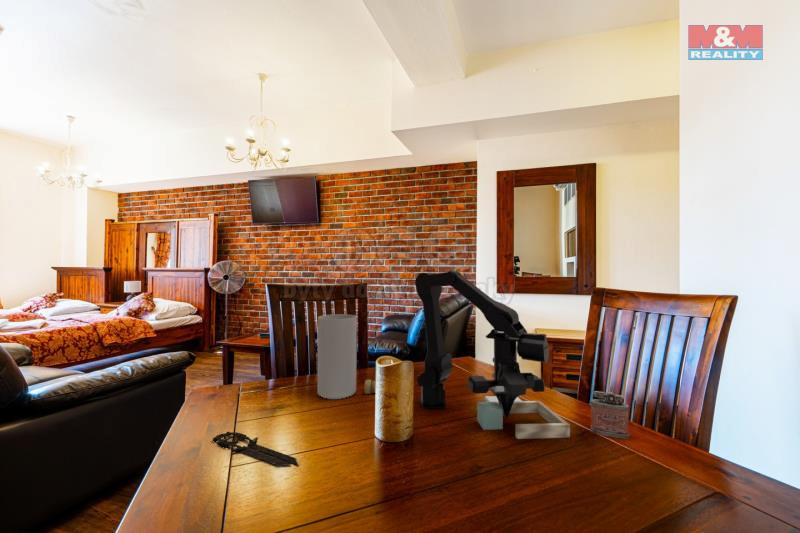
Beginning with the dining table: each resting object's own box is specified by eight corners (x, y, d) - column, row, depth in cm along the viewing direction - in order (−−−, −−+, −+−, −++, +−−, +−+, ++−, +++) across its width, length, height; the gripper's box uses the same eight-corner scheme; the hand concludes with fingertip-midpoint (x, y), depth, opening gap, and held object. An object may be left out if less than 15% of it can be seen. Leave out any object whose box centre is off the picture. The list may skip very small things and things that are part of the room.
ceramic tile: (494, 410, 94) (494, 406, 94) (485, 400, 102) (485, 396, 102) (528, 410, 95) (528, 406, 95) (516, 399, 103) (516, 395, 103)
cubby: (517, 438, 78) (517, 426, 78) (495, 412, 93) (495, 401, 93) (570, 437, 79) (569, 424, 79) (539, 411, 94) (539, 400, 94)
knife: (304, 465, 68) (304, 458, 68) (277, 481, 63) (277, 474, 63) (235, 432, 82) (235, 427, 82) (208, 443, 76) (208, 437, 76)
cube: (483, 429, 83) (483, 409, 83) (477, 420, 88) (477, 402, 88) (502, 429, 83) (502, 409, 83) (495, 420, 88) (495, 401, 88)
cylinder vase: (337, 384, 117) (338, 313, 117) (364, 391, 110) (364, 316, 110) (309, 394, 107) (310, 317, 107) (336, 403, 99) (336, 320, 100)
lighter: (627, 433, 81) (627, 392, 81) (630, 440, 78) (630, 397, 78) (590, 427, 84) (589, 388, 85) (591, 433, 81) (591, 392, 82)
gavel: (372, 367, 128) (398, 367, 127) (372, 379, 127) (398, 380, 127) (364, 381, 107) (395, 382, 106) (364, 396, 106) (395, 396, 106)
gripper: (479, 365, 78) (480, 432, 77) (556, 364, 79) (557, 430, 78) (467, 354, 89) (467, 412, 88) (534, 353, 90) (534, 410, 90)
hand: (505, 416), depth 86 cm, fingers closed
